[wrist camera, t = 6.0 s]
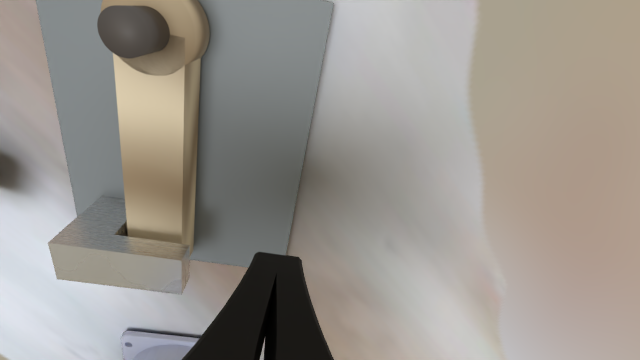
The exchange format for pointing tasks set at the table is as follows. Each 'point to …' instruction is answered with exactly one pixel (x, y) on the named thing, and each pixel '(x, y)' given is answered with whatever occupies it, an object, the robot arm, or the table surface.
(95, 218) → the steel keeper
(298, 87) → the slate board
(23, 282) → the table surface
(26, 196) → the table surface
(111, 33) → the beech link
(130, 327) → the table surface
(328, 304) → the table surface
